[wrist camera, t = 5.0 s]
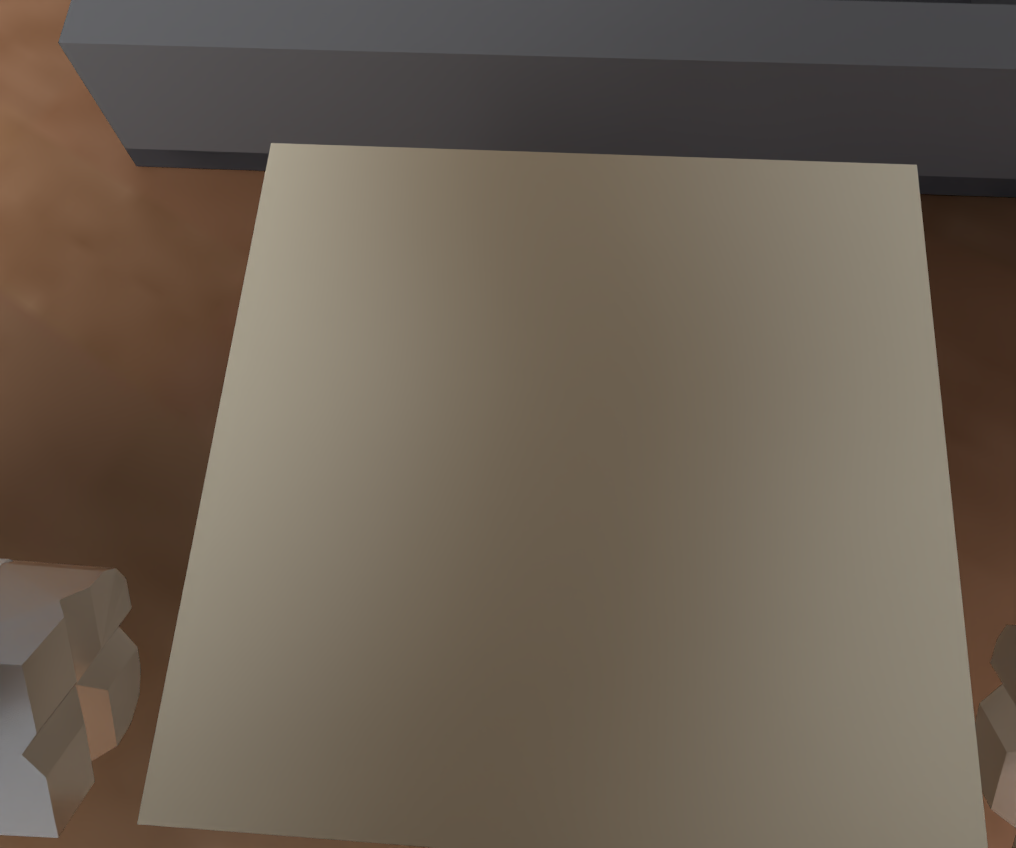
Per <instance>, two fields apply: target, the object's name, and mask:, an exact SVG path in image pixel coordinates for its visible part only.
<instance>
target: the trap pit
mask: <svg viewBox="0 0 1016 848" xmlns="http://www.w3.org/2000/svg"><path fill="white" fill-rule="evenodd" d="M58 43H59V45H60V46H61V48H62V49H63V51H64V53H65V54H66V56H67V57H68V59H69V60H70V62H71V64H72V65H73V67H74V68H75V70H76V72H77V73H78V75H79V76H80V78H81V79H82V81H83V83H84V84H85V86H86V87H87V89H88V90H89V92H90V94H91V95H92V97H93V98H94V100H95V101H96V103H97V105H98V106H99V108H100V109H101V111H102V113H103V114H104V116H105V117H106V119H107V120H108V122H109V124H110V125H111V127H112V128H113V130H114V131H115V133H116V135H117V136H118V138H119V139H120V141H121V143H122V144H123V146H124V147H125V149H126V150H127V152H128V154H129V155H130V157H131V158H132V160H133V161H134V163H135V165H136V166H146V167H174V168H203V169H231V170H259V171H266V166H267V161H268V156H269V151H270V146H271V143H285V144H315V145H345V146H374V147H404V148H434V149H464V150H493V151H523V152H553V153H582V154H612V155H642V156H672V157H701V158H731V159H761V160H790V161H820V162H850V163H880V164H909V165H917V170H918V180H919V190H920V194H935V195H963V196H991V197H1016V0H71V3H70V7H69V10H68V13H67V16H66V20H65V23H64V26H63V29H62V33H61V36H60V39H59V42H58Z"/></svg>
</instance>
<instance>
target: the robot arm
mask: <svg viewBox="0 0 1016 848" xmlns="http://www.w3.org/2000/svg"><path fill="white" fill-rule="evenodd" d="M131 608H132V607H131V601H130V596H129V591H128V586H127V581H126V578H125V577H124V576H123V575H122V574H121V573H120V572H119V571H118V570H117V569H116V568H108V567H96V566H83V565H71V564H59V563H47V562H35V561H23V560H16V561H13V560H10V559H0V835H10V836H30V837H51V838H59V836H60V835H61V833H62V831H63V830H64V828H65V827H66V825H67V824H68V822H69V821H70V819H71V817H72V816H73V814H74V813H75V811H76V810H77V808H78V807H79V805H80V804H81V802H82V800H83V799H84V797H85V796H86V794H87V793H88V791H89V790H90V788H91V786H92V785H93V783H94V782H95V780H94V774H93V769H92V763H91V761H93V760H95V759H96V758H98V757H100V756H101V755H103V754H105V753H106V752H108V751H110V750H112V749H113V748H115V747H117V746H118V744H119V742H120V741H121V739H122V737H123V736H124V734H125V732H126V731H127V729H128V727H129V726H130V724H131V721H132V718H133V714H134V711H135V708H136V704H137V701H138V697H139V694H140V675H141V667H140V660H139V653H138V647H137V646H136V645H135V644H134V643H133V642H132V640H131V639H130V638H129V637H128V636H127V635H126V634H125V633H124V632H123V630H122V629H121V628H120V627H119V626H120V624H121V623H122V621H123V620H124V619H125V617H126V616H127V614H128V613H129V611H130V610H131ZM990 663H991V665H992V667H993V668H994V670H995V672H996V673H997V675H998V677H999V679H1000V680H1001V682H1002V685H1001V686H999V687H998V688H997V689H996V690H995V691H993V692H992V693H991V694H990V695H989V696H987V697H986V698H985V699H984V700H983V701H981V702H980V703H979V708H978V712H977V717H976V721H975V729H976V738H977V748H978V758H979V767H980V777H981V787H982V792H983V794H984V796H985V798H986V800H987V802H988V804H989V806H990V808H991V810H992V811H994V812H995V813H996V814H998V815H999V816H1000V817H1002V818H1003V819H1004V820H1006V821H1007V822H1008V823H1010V824H1011V825H1012V826H1014V827H1015V828H1016V625H1006V627H1005V628H1004V630H1003V631H1002V633H1001V634H1000V636H999V637H998V639H997V641H996V645H995V648H994V652H993V655H992V659H991V662H990ZM1012 848H1016V836H1015V840H1014V843H1013V846H1012Z"/></svg>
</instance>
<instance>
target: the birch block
mask: <svg viewBox="0 0 1016 848" xmlns="http://www.w3.org/2000/svg"><path fill="white" fill-rule="evenodd" d="M137 824H140V825H153V826H165V827H178V828H191V829H204V830H216V831H229V832H242V833H254V834H267V835H280V836H293V837H305V838H318V839H331V840H343V841H356V842H369V843H382V844H394V845H407V846H420V847H432V848H988V844H987V835H986V825H985V815H984V806H983V796H982V787H981V777H980V767H979V758H978V748H977V738H976V729H975V719H974V710H973V700H972V690H971V681H970V671H969V661H968V652H967V642H966V632H965V623H964V613H963V604H962V594H961V584H960V575H959V565H958V555H957V546H956V536H955V527H954V517H953V507H952V498H951V488H950V478H949V469H948V459H947V450H946V440H945V430H944V421H943V411H942V401H941V392H940V382H939V373H938V363H937V353H936V344H935V334H934V324H933V315H932V305H931V296H930V286H929V276H928V267H927V257H926V247H925V238H924V228H923V219H922V209H921V199H920V190H919V180H918V170H917V165H909V164H880V163H850V162H820V161H790V160H761V159H731V158H701V157H672V156H642V155H612V154H582V153H553V152H523V151H493V150H464V149H434V148H404V147H374V146H345V145H315V144H285V143H271V146H270V151H269V156H268V161H267V166H266V171H265V176H264V181H263V186H262V192H261V197H260V202H259V207H258V212H257V217H256V222H255V227H254V232H253V237H252V242H251V247H250V253H249V258H248V263H247V268H246V273H245V278H244V283H243V288H242V293H241V298H240V303H239V308H238V314H237V319H236V324H235V329H234V334H233V339H232V344H231V349H230V354H229V359H228V364H227V369H226V375H225V380H224V385H223V390H222V395H221V400H220V405H219V410H218V415H217V420H216V425H215V430H214V436H213V441H212V446H211V451H210V456H209V461H208V466H207V471H206V476H205V481H204V486H203V492H202V497H201V502H200V507H199V512H198V517H197V522H196V527H195V532H194V537H193V542H192V547H191V553H190V558H189V563H188V568H187V573H186V578H185V583H184V588H183V593H182V598H181V603H180V608H179V614H178V619H177V624H176V629H175V634H174V639H173V644H172V649H171V654H170V659H169V664H168V669H167V675H166V680H165V685H164V690H163V695H162V700H161V705H160V710H159V715H158V720H157V725H156V730H155V736H154V741H153V746H152V751H151V756H150V761H149V766H148V771H147V776H146V781H145V786H144V791H143V797H142V802H141V807H140V812H139V817H138V822H137Z"/></svg>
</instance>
